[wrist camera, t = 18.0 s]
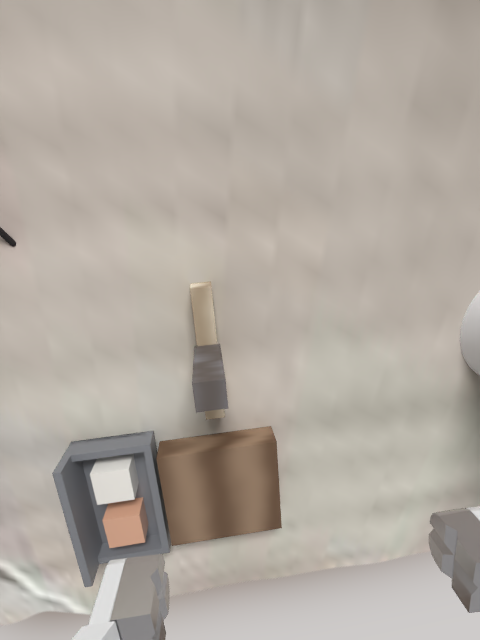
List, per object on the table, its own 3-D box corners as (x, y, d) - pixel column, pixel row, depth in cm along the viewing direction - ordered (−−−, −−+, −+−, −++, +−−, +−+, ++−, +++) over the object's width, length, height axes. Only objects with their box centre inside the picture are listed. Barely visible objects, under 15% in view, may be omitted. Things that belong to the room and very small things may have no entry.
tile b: (102, 520, 37) (108, 502, 39) (109, 548, 38) (114, 529, 40) (139, 514, 37) (143, 497, 40) (145, 542, 38) (148, 523, 41)
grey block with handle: (212, 281, 34) (217, 305, 24) (225, 402, 38) (234, 469, 28) (188, 283, 34) (182, 309, 24) (203, 405, 38) (204, 474, 28)
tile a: (89, 474, 35) (96, 458, 38) (97, 505, 36) (103, 487, 39) (128, 469, 36) (133, 453, 38) (134, 499, 37) (138, 482, 39)
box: (153, 430, 38) (146, 460, 33) (171, 533, 42) (167, 573, 37) (71, 441, 37) (52, 473, 32) (98, 545, 41) (84, 587, 37)
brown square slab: (271, 426, 40) (276, 441, 37) (276, 507, 43) (281, 527, 40) (159, 441, 38) (156, 458, 36) (173, 523, 42) (171, 545, 39)
